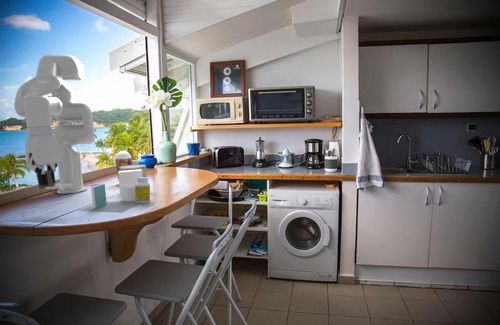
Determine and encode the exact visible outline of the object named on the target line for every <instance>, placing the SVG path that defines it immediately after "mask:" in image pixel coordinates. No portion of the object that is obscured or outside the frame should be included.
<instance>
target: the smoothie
mask: <svg viewBox="0 0 500 325" xmlns="http://www.w3.org/2000/svg"><path fill="white" fill-rule="evenodd" d="M114 157H115V158H114V160H115V161H114V162H115V167H116V174H117V180H118V182H119V175H118V172H119V171H120V169H119V167H122V166H128V165H133V156H132V155H131V154H130V153H129V151H126V150H124V145H121V150H120V151H119V152H118V153H116V155H115V156H114Z"/></svg>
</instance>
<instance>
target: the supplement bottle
mask: <svg viewBox="0 0 500 325" xmlns="http://www.w3.org/2000/svg"><path fill="white" fill-rule="evenodd" d="M137 180H138V183H136V185H135V200H134V201H135V202H134V203H142V204H147V203H149V202H150V201H151V183H150V182H149V177H148V176H147V177H138V178H137Z"/></svg>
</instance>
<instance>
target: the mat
mask: <svg viewBox="0 0 500 325" xmlns="http://www.w3.org/2000/svg"><path fill="white" fill-rule="evenodd" d="M106 202H107V204H106V205H103V206H101V207H98V208H93V204H92V205H90V206H87V207H84V208H82V209H79V210H77V211H78V212H95V213H96V212H97V213H98V212H99V213H121V214H122V213H124V212H126V211H128V210H130V209H132V208H135V207H137V206H139V205H142V204H143V203H136V202H132V201H123V202H122V201H106Z"/></svg>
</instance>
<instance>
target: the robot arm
mask: <svg viewBox="0 0 500 325" xmlns="http://www.w3.org/2000/svg"><path fill="white" fill-rule="evenodd" d="M84 78H85V67H84V65H83V64H82V61H80V59H78V58H77V57H75V56H72V55H64V54H62V55H60V54H59V55H58V54H47V55H44V56H41V58H40V59H39V61H38V65H37V69H36V74H35V77H32V78H30V79H29V80H27V81H25V82H24V83H23V84H21V85H20V86H19V87H18V89H17V91H16V95H15V98H14V105H13V106H14V110H15V113H16V114H17V115H18V116H19V117H21V118H25V122H26V129H27V130H26V131H27V136H26V137H25V143H24V154H25V163H26V165H27V169H28V170H30V171H33V172H34V173H35V174H38V178H39V185H48V179H47V174H45V171H46V170H51V171H52V178H53V183H54V185H56V184H67V183H80V184H79V185H76V186H73V187H69V188H58V189H57V190H56V192H57V194H60V195H61V194H63V195H65V194H67V195H68V194H75V193H76V194H77V193H81V192H85V191H87V190H88V186H84V183H83V182H84V181H83V173H82V171H83V170H82V163H81V162H82V161H81V153H80V151H79V150H78V149H76V147H74V146H75V145H76V146H77V145H90V144H93V143H95V125H94V115H93V110H92V106H91V104H90V103H89V102H88V101H86V100H74V94H73V89H72V88H71V86H70V85H69V84H67V83H66V82H65V81H83V79H84ZM49 94H51V95H49ZM48 95H49V96H48ZM53 118H54V119H55V120H56V121H58V122H63V123H65V122H66V123H67V122H82V123H73V124H72V123H70V124H58V125H55V126H54V125H53ZM73 145H74V146H73ZM56 169H58V170H57V171H58V176H59V177H58V178H59V182H56V177H55V172H56ZM39 185H38V186H39Z"/></svg>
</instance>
